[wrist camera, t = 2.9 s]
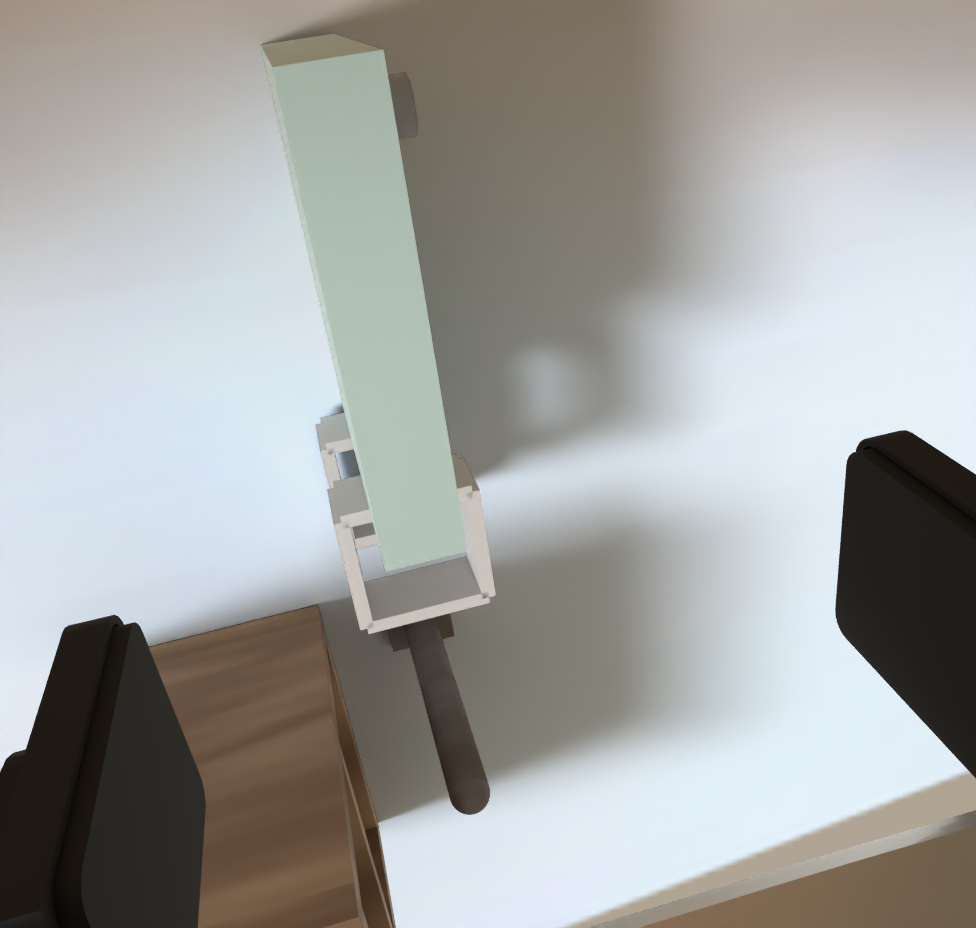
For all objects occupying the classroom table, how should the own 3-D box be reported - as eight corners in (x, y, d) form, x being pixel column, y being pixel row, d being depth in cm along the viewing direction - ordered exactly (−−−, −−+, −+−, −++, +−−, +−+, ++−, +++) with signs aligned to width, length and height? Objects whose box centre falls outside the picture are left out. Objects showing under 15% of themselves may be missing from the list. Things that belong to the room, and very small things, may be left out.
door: (223, 50, 24) (215, 76, 16) (368, 28, 25) (437, 41, 16) (338, 514, 31) (375, 708, 23) (447, 488, 32) (525, 666, 23)
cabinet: (64, 668, 31) (-32, 1037, 20) (441, 573, 34) (543, 860, 22) (166, 885, 37) (135, 1265, 26) (482, 793, 39) (579, 1108, 28)
